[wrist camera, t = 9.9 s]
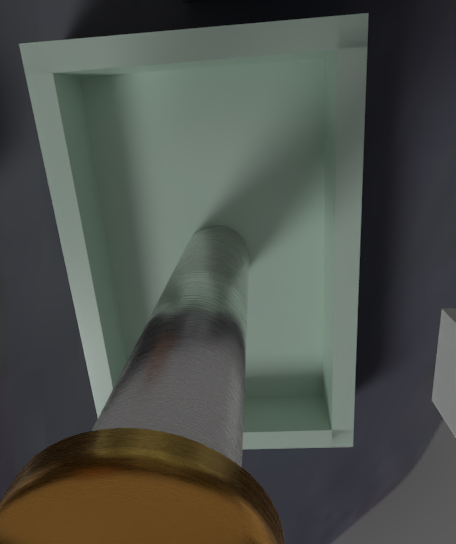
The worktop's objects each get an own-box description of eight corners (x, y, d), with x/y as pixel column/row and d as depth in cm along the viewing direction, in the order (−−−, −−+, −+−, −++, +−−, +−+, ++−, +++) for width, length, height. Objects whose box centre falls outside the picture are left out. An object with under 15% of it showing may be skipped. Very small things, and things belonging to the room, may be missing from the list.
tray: (122, 410, 24) (105, 452, 21) (56, 54, 18) (18, 43, 15) (339, 404, 24) (352, 446, 21) (347, 30, 17) (368, 13, 14)
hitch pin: (176, 301, 21) (1, 721, 7) (165, 212, 20) (-92, 501, 5) (266, 297, 21) (294, 731, 6) (262, 207, 19) (286, 499, 5)
